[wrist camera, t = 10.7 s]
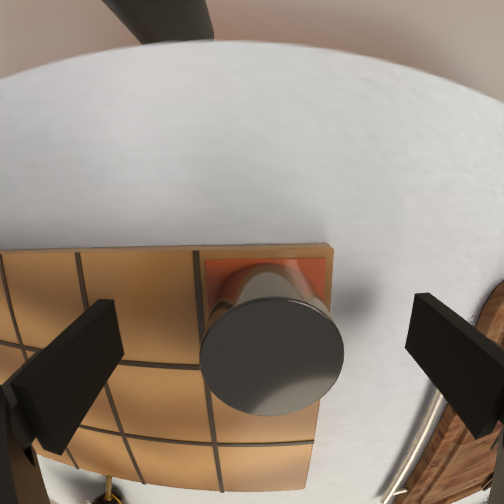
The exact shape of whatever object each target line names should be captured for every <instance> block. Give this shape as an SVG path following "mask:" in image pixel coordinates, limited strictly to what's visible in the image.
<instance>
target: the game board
mask: <svg viewBox="0 0 504 504" xmlns="http://www.w3.org/2000/svg"><path fill="white" fill-rule="evenodd" d="M333 254H334V249H333V248H332V247H331V246H330V245H329V244H270V245H204V246H150V247H103V248H62V249H25V250H0V384H1V385H2V384H3V383H4V382H5V381H6V380H7V379H8V378H9V377H10V376H11V375H12V374H13V373H14V372H15V371H16V370H17V369H18V368H20V366H21V365H22V364H23V363H24V362H26V360H28V359H29V358H30V357H31V356H32V355H33V354H34V353H36V352H37V351H39V350H41V349H43V348H45V347H46V346H47V345H48V344H50V343H51V342H52V341H53V340H54V339H55V338H56V337H57V336H58V335H59V334H60V333H61V332H62V331H64V330H65V329H66V328H67V327H68V326H69V325H70V324H71V323H72V322H73V321H74V320H76V319H77V318H78V317H79V316H80V315H81V314H82V313H83V312H84V311H86V310H87V309H88V308H89V307H90V306H91V305H92V304H93V303H95V302H96V301H97V300H98V299H114V302H115V308H116V314H117V319H118V325H119V330H120V335H121V340H122V344H123V349H124V353H125V354H124V356H123V358H122V359H121V361H120V362H119V364H118V365H117V367H116V368H115V370H114V371H113V373H112V374H111V376H110V378H109V379H108V381H107V382H106V384H105V385H104V387H103V389H102V390H101V392H100V393H99V395H98V396H97V398H96V400H95V401H94V403H93V404H92V406H91V408H90V409H89V411H88V413H87V414H86V416H85V417H84V419H83V421H82V422H81V424H80V426H79V427H78V429H77V431H76V432H75V434H74V436H73V437H72V439H71V441H70V442H69V444H68V446H67V447H66V449H65V451H64V453H63V454H62V456H60V455H57V454H54V453H51V452H48V451H46V450H43V448H42V447H41V445H40V443H39V441H38V440H37V438H35V440H34V441H33V443H32V446H33V447H34V449H35V451H36V454H39V455H41V456H44V457H47V458H49V459H52V460H55V461H58V462H61V463H64V464H67V465H71V466H74V467H76V469H79V468H81V469H84V470H88V471H91V472H95V473H99V474H103V475H110V476H112V477H116V478H121V479H125V480H130V481H136V482H141V483H142V484H145V485H146V483H147V484H153V485H160V486H167V487H175V488H184V489H195V490H209V491H220V493H224V491H232V492H262V491H285V490H299V489H304V488H305V484H306V479H307V474H308V469H309V464H310V458H311V453H312V447H313V444H314V436H315V430H316V423H317V417H318V410H319V403H320V399H319V400H318V401H316V402H315V403H313V404H312V405H310V406H308V407H306V408H304V409H302V410H299V411H297V412H294V413H290V414H286V415H279V416H258V415H251V414H247V413H244V412H241V411H238V410H236V409H234V408H232V407H230V406H228V405H226V404H225V403H223V402H222V401H221V400H219V399H218V398H217V397H216V396H215V395H214V394H213V393H212V392H211V390H210V389H209V388H208V386H207V385H206V383H205V381H204V379H203V377H202V374H201V370H200V365H199V351H200V346H201V342H202V339H203V335H204V332H205V328H206V325H207V321H208V318H209V315H210V311H211V308H212V304H213V301H214V298H215V296H216V294H217V292H218V290H219V288H220V287H221V285H222V284H223V283H224V282H225V281H226V280H227V279H228V278H229V277H230V276H231V275H233V274H234V273H236V272H237V271H239V270H241V269H243V268H245V267H248V266H251V265H255V264H261V263H276V264H281V265H286V266H288V267H291V268H293V269H295V270H297V271H299V272H301V273H302V274H303V275H305V276H306V277H307V278H308V279H309V280H310V281H311V282H312V283H313V285H314V286H315V288H316V289H317V291H318V293H319V295H320V297H321V298H322V300H323V302H324V304H325V306H326V307H327V309H328V311H329V313H330V302H331V289H332V273H333Z"/></svg>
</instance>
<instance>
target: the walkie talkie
mask: <svg viewBox="0 0 504 504" xmlns="http://www.w3.org/2000/svg"><path fill="white" fill-rule="evenodd" d="M86 503H87V504H127V503H126V501H125V499H124V498H123V496H122V495H121V494H120V493H119V492H118V491H116V490H115V489H113V488H112V476H110V475H106V489H105V492H103V493H102V494H101V495H99V496H98V497H97V498H95V499H94V502H93V503H91V502H90V501H89V500H86ZM82 504H85V503H82Z"/></svg>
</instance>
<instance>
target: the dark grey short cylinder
mask: <svg viewBox="0 0 504 504" xmlns="http://www.w3.org/2000/svg"><path fill="white" fill-rule="evenodd" d="M343 361H344V344H343V340H342V337H341V334H340V331H339V329H338V328H337V326H336V324H335V322H334V320H333V318H332V317H331V315H330V313H329V311H328V309H327V307H326V306H325V304H324V302H323V300H322V298H321V297H320V295H319V293H318V291H317V289H316V288H315V286H314V285H313V283H312V282H311V281H310V280H309V279H308V278H307V277H306V276H305V275H303V274H302V273H301V272H299V271H297V270H295V269H293V268H291V267H288V266H286V265H281V264H276V263H261V264H255V265H251V266H248V267H245V268H243V269H241V270H239V271H237V272H236V273H234V274H233V275H231V276H230V277H229V278H228V279H227V280H226V281H225V282H224V283H223V284H222V285H221V287H220V288H219V290H218V292H217V294H216V296H215V298H214V301H213V304H212V308H211V311H210V315H209V318H208V321H207V325H206V328H205V332H204V335H203V339H202V342H201V346H200V351H199V365H200V370H201V374H202V377H203V379H204V381H205V383H206V385H207V386H208V388H209V389H210V390H211V392H212V393H213V394H214V395H215V396H216V397H217V398H218V399H219V400H221V401H222V402H223V403H225V404H226V405H228V406H230V407H232V408H234V409H236V410H238V411H241V412H244V413H247V414H251V415H258V416H279V415H286V414H290V413H294V412H297V411H299V410H302V409H304V408H306V407H308V406H310V405H312V404H313V403H315V402H316V401H318V400H319V399H320V398H322V397H323V396H324V395H325V394H326V393H327V392H328V391H329V390H330V389H331V387H332V386H333V385H334V383H335V382H336V380H337V378H338V376H339V374H340V372H341V369H342V365H343Z"/></svg>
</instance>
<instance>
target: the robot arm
mask: <svg viewBox="0 0 504 504" xmlns="http://www.w3.org/2000/svg"><path fill="white" fill-rule="evenodd" d="M405 349H406V350H407V351H408V352H409V354H410V355H411V356H412V357H413V358H414V360H415V361H416V362H417V363H418V365H419V366H420V367H421V368H422V370H423V371H424V372H425V373H426V375H427V376H428V377H429V379H430V380H431V381H432V382H433V384H434V385H435V386H436V387H437V389H438V390H439V391H440V393H441V394H442V395H443V397H444V398H445V399H446V400H447V402H448V403H449V404H450V406H451V407H452V408H453V410H454V411H455V412H456V414H457V415H458V416H459V418H460V419H461V420H462V422H463V423H464V424H465V426H466V427H467V429H468V430H469V431H470V433H471V434H472V435H473V437H474V438H475V440H477V439H480V438H482V437H484V436H487V435H489V434H491V433H492V431H493V430H494V428H495V426H496V424H497V422H498V420H499V421H500V422H501V423H502V424H503V427H502V428H501V430H500V432H499V434H498V435H497V437H496V439H495V441H494V442H493V444H492V446H491V448H490V449H491V450H493V448H494V447H495V445H496V444H498V448H497V449H496V451H497V456H496V462H495V469H494V474H493V480H492V485H491V490H490V494H489V499H488V503H487V504H504V349H502V347H501V346H500V345H499V344H497V343H496V342H495V341H493V340H491V339H489V338H487V337H486V336H485V335H484V334H482V333H481V332H480V331H479V330H477V329H476V328H475V327H474V326H472V325H471V324H470V323H468V322H467V321H466V320H465V319H463V318H462V317H461V316H459V315H458V314H457V313H455V312H454V311H453V310H451V309H450V308H449V307H447V306H446V305H445V304H443V303H442V302H441V301H439V300H438V299H437V298H435V297H434V296H433V295H431V294H430V293H417V294H415V296H414V302H413V308H412V314H411V319H410V325H409V330H408V335H407V340H406V344H405ZM124 354H125V353H124V349H123V344H122V340H121V335H120V330H119V325H118V319H117V314H116V308H115V302H114V299H98V300H97V301H96V302H95V303H93V304H92V305H91V306H90V307H89V308H88V309H87V310H86V311H84V312H83V313H82V314H81V315H80V316H79V317H78V318H77V319H76V320H74V321H73V322H72V323H71V324H70V325H69V326H68V327H67V328H66V329H65V330H64V331H62V332H61V333H60V334H59V335H58V336H57V337H56V338H55V339H54V340H53V341H52V342H51V343H50V344H48V345H47V346H46V347H45V348H43V349H41V350H39V351H37V352H36V353H34V354H33V355H32V356H31V357H30V358H29V359H28V360H26V362H24V363H23V364H22V365H21V366H20V368H18V369H17V370H16V371H15V372H14V373H13V374H12V375H11V376H10V377H9V378H8V379H7V380H6V381H5V382H4V383H3V384H2V385H1V384H0V504H50V501H49V498H48V495H47V491H46V488H45V485H44V482H43V478H42V474H41V471H40V467H39V463H38V459H37V455H36V451H35V449H34V447H33V446H32V443H33V441H34V440H35V438H37V440H38V441H39V443H40V445H41V447H42V448H43V450H46V451H48V452H51V453H54V454H57V455H60V456H62V454H63V453H64V451H65V449H66V447H67V446H68V444H69V442H70V441H71V439H72V437H73V436H74V434H75V432H76V431H77V429H78V427H79V426H80V424H81V422H82V421H83V419H84V417H85V416H86V414H87V413H88V411H89V409H90V408H91V406H92V404H93V403H94V401H95V400H96V398H97V396H98V395H99V393H100V392H101V390H102V389H103V387H104V385H105V384H106V382H107V381H108V379H109V378H110V376H111V374H112V373H113V371H114V370H115V368H116V367H117V365H118V364H119V362H120V361H121V359H122V358H123V356H124Z"/></svg>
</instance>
